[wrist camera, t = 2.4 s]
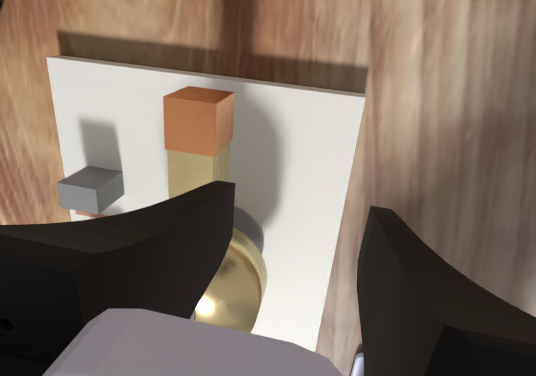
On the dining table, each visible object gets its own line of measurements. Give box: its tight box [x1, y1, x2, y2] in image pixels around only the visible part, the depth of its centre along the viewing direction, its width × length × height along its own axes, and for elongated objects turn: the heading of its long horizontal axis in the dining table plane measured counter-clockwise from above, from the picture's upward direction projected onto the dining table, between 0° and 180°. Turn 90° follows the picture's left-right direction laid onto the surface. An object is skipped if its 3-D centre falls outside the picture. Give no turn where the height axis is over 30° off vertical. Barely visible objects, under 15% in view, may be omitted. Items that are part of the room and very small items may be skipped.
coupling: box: [163, 86, 267, 333], centre depth 19 cm, size 14×7×3 cm, turn 175°
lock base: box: [46, 55, 365, 352], centre depth 23 cm, size 18×18×4 cm
